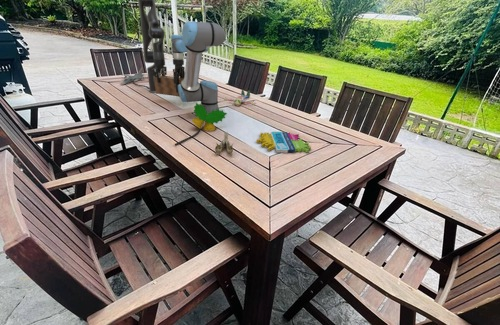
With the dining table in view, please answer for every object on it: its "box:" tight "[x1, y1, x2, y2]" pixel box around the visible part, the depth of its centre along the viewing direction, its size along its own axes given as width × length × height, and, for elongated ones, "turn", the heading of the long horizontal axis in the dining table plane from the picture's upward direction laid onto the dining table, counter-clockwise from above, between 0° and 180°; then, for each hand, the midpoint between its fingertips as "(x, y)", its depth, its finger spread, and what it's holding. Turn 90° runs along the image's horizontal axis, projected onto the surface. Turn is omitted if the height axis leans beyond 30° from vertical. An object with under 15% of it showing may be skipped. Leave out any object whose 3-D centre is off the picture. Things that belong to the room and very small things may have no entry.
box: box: [154, 74, 184, 98], centre depth 197 cm, size 24×6×13 cm, turn 75°
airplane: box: [119, 66, 148, 86], centre depth 257 cm, size 38×31×10 cm
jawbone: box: [214, 131, 234, 156], centre depth 136 cm, size 9×15×10 cm
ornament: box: [191, 101, 228, 132], centre depth 162 cm, size 21×8×15 cm, turn 105°
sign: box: [256, 131, 312, 154], centre depth 152 cm, size 26×2×30 cm
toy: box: [223, 89, 257, 106], centre depth 219 cm, size 28×7×30 cm
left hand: (161, 81), depth 197 cm, fingers closed on box, 6 cm apart
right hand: (180, 91), depth 197 cm, fingers closed on box, 6 cm apart
